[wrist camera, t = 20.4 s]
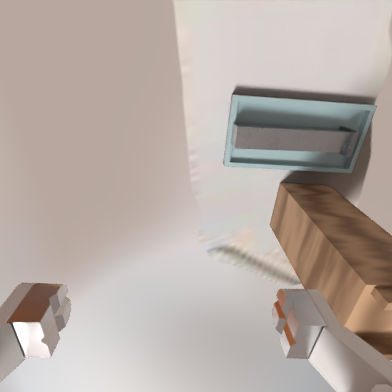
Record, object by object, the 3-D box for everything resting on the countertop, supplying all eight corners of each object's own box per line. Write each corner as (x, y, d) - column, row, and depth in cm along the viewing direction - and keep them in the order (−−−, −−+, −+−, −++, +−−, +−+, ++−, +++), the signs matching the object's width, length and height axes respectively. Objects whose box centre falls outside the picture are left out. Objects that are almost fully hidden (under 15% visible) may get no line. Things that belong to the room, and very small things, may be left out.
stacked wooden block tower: (269, 225, 53) (344, 361, 28) (280, 182, 49) (379, 300, 24) (314, 226, 54) (425, 361, 29) (328, 185, 49) (474, 302, 25)
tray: (223, 162, 46) (224, 166, 45) (232, 94, 41) (234, 95, 39) (345, 169, 48) (351, 173, 46) (369, 104, 43) (377, 105, 41)
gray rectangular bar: (230, 146, 43) (235, 153, 39) (233, 120, 41) (239, 125, 37) (336, 150, 45) (350, 157, 42) (344, 126, 43) (360, 131, 40)
